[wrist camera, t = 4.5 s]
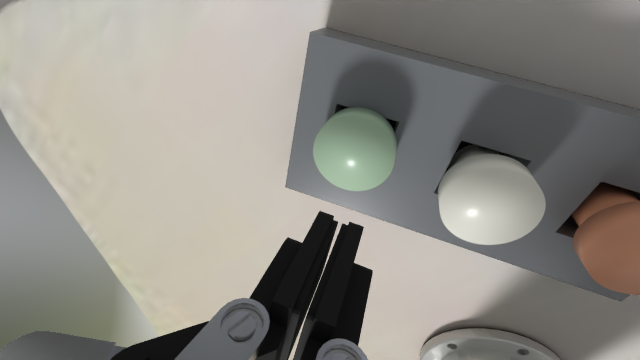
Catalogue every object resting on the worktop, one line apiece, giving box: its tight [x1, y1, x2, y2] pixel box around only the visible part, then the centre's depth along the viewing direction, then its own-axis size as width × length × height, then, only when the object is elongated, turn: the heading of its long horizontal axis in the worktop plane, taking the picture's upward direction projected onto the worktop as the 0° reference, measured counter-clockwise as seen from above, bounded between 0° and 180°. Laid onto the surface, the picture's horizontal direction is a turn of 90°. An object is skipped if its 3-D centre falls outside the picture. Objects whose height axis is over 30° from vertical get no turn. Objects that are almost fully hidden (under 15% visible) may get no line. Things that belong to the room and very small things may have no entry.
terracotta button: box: [571, 182, 640, 295], centre depth 15 cm, size 4×4×4 cm
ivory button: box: [438, 145, 546, 245], centre depth 16 cm, size 4×4×4 cm
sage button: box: [313, 107, 397, 191], centre depth 17 cm, size 4×4×4 cm
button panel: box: [285, 28, 640, 301], centre depth 18 cm, size 22×10×3 cm, turn 79°
